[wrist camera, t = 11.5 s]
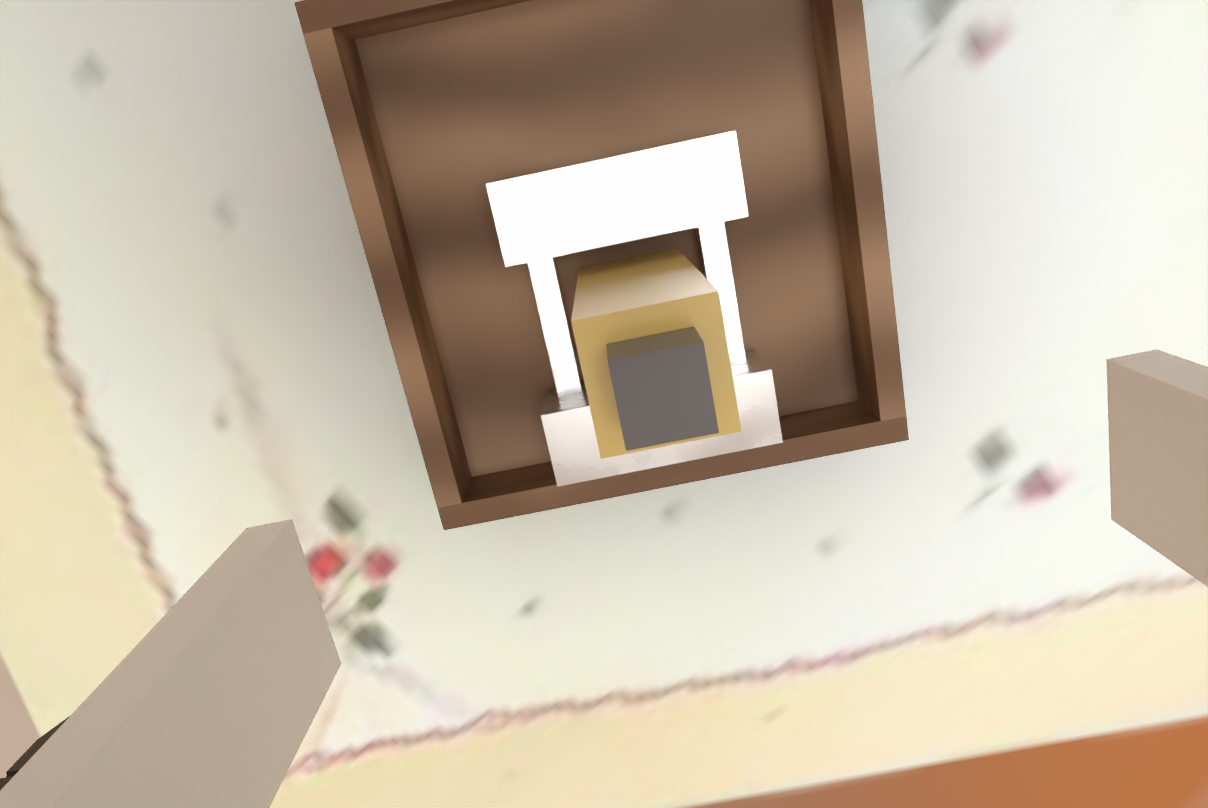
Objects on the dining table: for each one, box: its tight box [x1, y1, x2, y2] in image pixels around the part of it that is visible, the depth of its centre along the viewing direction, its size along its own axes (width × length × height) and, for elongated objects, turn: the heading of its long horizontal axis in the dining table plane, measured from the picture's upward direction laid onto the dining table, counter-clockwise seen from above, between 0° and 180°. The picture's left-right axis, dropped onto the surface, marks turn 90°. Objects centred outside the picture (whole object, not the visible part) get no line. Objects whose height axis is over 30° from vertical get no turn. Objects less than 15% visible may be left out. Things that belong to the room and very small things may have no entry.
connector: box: [571, 247, 742, 459], centre depth 27 cm, size 4×4×14 cm
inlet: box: [486, 131, 783, 487], centre depth 32 cm, size 12×9×3 cm
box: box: [295, 0, 909, 530], centre depth 32 cm, size 20×19×4 cm
